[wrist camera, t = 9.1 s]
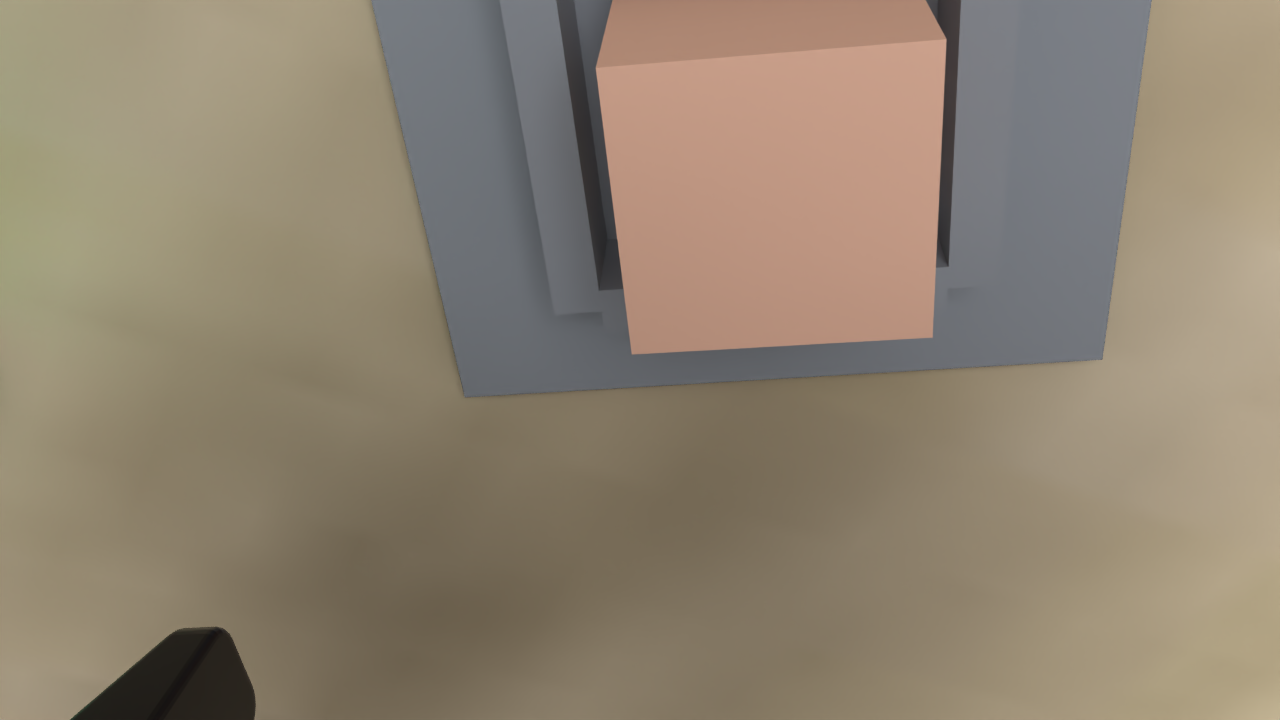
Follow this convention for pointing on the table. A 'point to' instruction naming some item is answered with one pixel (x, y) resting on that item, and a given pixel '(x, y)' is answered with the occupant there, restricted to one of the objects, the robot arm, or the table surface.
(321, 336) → the table surface
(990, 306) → the socket plate
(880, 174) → the peg block
